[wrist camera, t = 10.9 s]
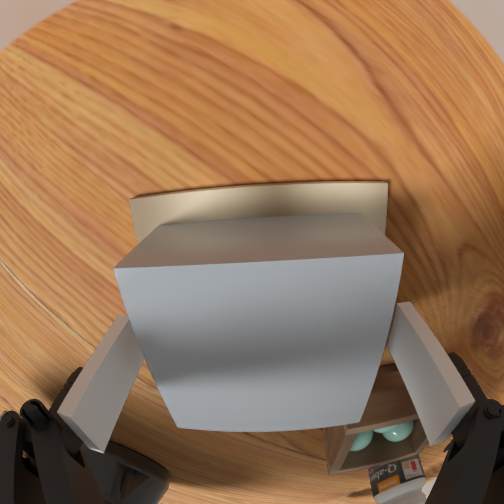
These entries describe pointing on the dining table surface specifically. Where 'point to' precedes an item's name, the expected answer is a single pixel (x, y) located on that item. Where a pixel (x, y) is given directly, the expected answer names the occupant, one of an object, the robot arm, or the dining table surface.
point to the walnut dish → (376, 427)
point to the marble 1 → (362, 440)
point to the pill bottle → (398, 482)
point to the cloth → (261, 203)
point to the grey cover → (263, 318)
